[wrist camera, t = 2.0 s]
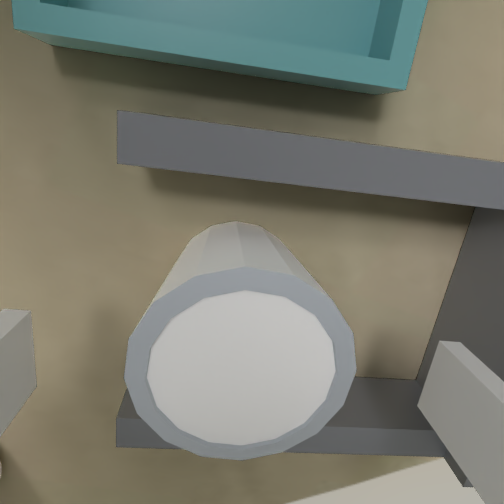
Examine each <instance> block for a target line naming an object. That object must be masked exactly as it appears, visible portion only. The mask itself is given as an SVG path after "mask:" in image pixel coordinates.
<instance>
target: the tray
mask: <svg viewBox="0 0 504 504" xmlns="http://www.w3.org/2000/svg"><path fill="white" fill-rule="evenodd" d="M427 2H428V0H12V12H13V25H14V29H16V30H18V31H20V32H23V33H25V34H27V35H29V36H32V37H34V38H36V39H38V40H41V41H43V42H45V43H48V44H50V45H54V46H61V47H67V48H74V49H80V50H87V51H93V52H100V53H106V54H113V55H119V56H126V57H132V58H139V59H145V60H152V61H158V62H165V63H171V64H178V65H184V66H191V67H197V68H204V69H210V70H217V71H223V72H230V73H236V74H243V75H249V76H256V77H262V78H269V79H276V80H282V81H289V82H295V83H302V84H308V85H315V86H321V87H328V88H334V89H341V90H347V91H354V92H360V93H367V94H373V95H379V94H385V93H391V92H397V91H403V90H406V86H407V82H408V78H409V74H410V70H411V66H412V62H413V58H414V54H415V50H416V46H417V42H418V38H419V34H420V30H421V26H422V22H423V18H424V14H425V10H426V6H427Z"/></svg>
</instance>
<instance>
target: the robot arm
mask: <svg viewBox="0 0 504 504" xmlns="http://www.w3.org/2000/svg"><path fill="white" fill-rule="evenodd" d="M36 387H37V382H36V369H35V356H34V343H33V330H32V317H31V311H29V310H16V309H3V310H1V311H0V437H1V435H2V434H3V433H4V431H5V430H6V428H7V427H8V426H9V424H10V423H11V422H12V420H13V419H14V417H15V416H16V415H17V413H18V412H19V410H20V409H21V408H22V406H23V405H24V403H25V402H26V401H27V399H28V398H29V397H30V395H31V394H32V392H33V391H34V390H35V388H36ZM417 406H418V408H419V409H420V410H421V412H422V413H423V415H424V416H425V418H426V419H427V421H428V422H429V423H430V425H431V426H432V428H433V429H434V431H435V432H436V433H437V435H438V436H439V438H440V439H441V441H442V442H443V443H444V445H445V446H446V448H447V449H448V451H449V452H450V454H451V455H452V456H453V458H454V459H455V461H456V462H457V464H458V465H459V466H460V468H461V469H462V471H463V472H464V474H465V475H466V477H467V478H468V479H469V481H470V482H471V484H472V485H473V487H474V488H475V489H476V491H477V492H478V494H479V495H480V497H481V498H482V499H483V501H484V502H485V504H504V381H503V380H501V379H500V378H499V377H498V376H497V375H496V374H495V373H494V372H493V371H491V370H490V369H489V368H488V367H487V366H486V365H485V364H484V363H483V362H482V361H480V360H479V359H478V358H477V357H476V356H475V355H474V354H473V353H472V352H471V351H469V350H468V349H467V348H466V347H465V346H464V345H463V344H462V343H461V342H452V341H439V343H438V346H437V349H436V352H435V355H434V358H433V361H432V364H431V367H430V370H429V372H428V375H427V378H426V381H425V384H424V387H423V390H422V393H421V396H420V399H419V402H418V405H417Z"/></svg>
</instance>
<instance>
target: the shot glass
mask: <svg viewBox="0 0 504 504" xmlns="http://www.w3.org/2000/svg"><path fill="white" fill-rule="evenodd" d="M356 371H357V370H356V358H355V346H354V335H353V332H352V330H351V329H350V327H349V326H348V324H347V322H346V321H345V319H344V318H343V316H342V314H341V313H340V311H339V310H338V308H337V306H336V305H335V303H334V302H333V300H332V299H331V298H330V296H329V295H328V294H327V293H326V292H325V291H324V290H323V288H322V287H321V286H320V285H319V284H318V283H317V281H316V280H315V279H314V278H313V277H312V276H311V275H310V273H309V272H308V271H307V270H306V269H305V268H304V267H303V265H302V264H301V263H300V262H299V261H298V260H297V259H296V257H295V256H294V255H293V254H292V253H291V252H290V251H289V249H288V248H287V247H286V246H285V245H284V244H283V242H282V241H281V240H280V239H279V238H278V237H276V236H275V235H273V234H272V233H270V232H269V231H267V230H266V229H264V228H263V227H261V226H260V225H254V224H249V223H244V222H239V221H232V222H227V223H222V224H217V225H212V226H210V227H208V228H207V229H205V230H204V231H202V232H201V233H199V234H198V235H196V236H194V237H193V238H191V240H190V241H189V243H188V244H187V246H186V247H185V249H184V250H183V252H182V253H181V255H180V256H179V258H178V259H177V261H176V263H175V264H174V266H173V267H172V269H171V271H170V272H169V274H168V276H167V277H166V279H165V281H164V282H163V284H162V285H161V287H160V289H159V290H158V292H157V294H156V295H155V297H154V298H153V300H152V302H151V303H150V305H149V307H148V308H147V310H146V311H145V313H144V315H143V316H142V318H141V320H140V321H139V323H138V324H137V326H136V328H135V329H134V331H133V333H132V334H131V336H130V338H129V341H128V349H127V357H126V364H125V372H124V380H125V383H126V386H127V388H128V391H129V394H130V396H131V399H132V402H133V404H134V407H135V410H136V412H137V414H138V415H139V416H140V417H141V418H142V419H143V420H144V421H145V422H146V423H147V424H148V425H149V426H150V427H151V428H152V429H153V430H154V431H155V432H156V433H157V434H158V435H159V436H160V437H161V438H162V439H163V440H164V441H166V442H169V443H171V444H173V445H175V446H178V447H180V448H182V449H185V450H187V451H189V452H192V453H194V454H196V455H198V456H201V457H210V458H221V459H231V460H241V461H242V460H247V459H252V458H257V457H262V456H267V455H272V454H277V453H282V452H284V451H286V450H287V449H289V448H291V447H293V446H295V445H297V444H299V443H300V442H302V441H304V440H306V439H308V438H310V437H312V436H314V435H315V434H317V433H318V432H319V431H320V430H321V429H322V428H323V427H324V426H325V425H326V423H327V422H328V421H329V420H330V419H331V418H332V417H333V416H334V415H335V414H336V413H337V412H338V411H339V409H340V408H341V407H342V406H343V405H344V402H345V400H346V397H347V394H348V392H349V389H350V387H351V384H352V381H353V379H354V376H355V373H356Z"/></svg>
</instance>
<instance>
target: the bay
mask: <svg viewBox="0 0 504 504" xmlns="http://www.w3.org/2000/svg"><path fill="white" fill-rule="evenodd" d="M117 164H125V165H133V166H141V167H150V168H158V169H166V170H175V171H183V172H192V173H200V174H208V175H217V176H225V177H233V178H242V179H250V180H259V181H267V182H275V183H284V184H292V185H300V186H309V187H317V188H326V189H334V190H342V191H351V192H359V193H367V194H376V195H384V196H393V197H401V198H409V199H418V200H426V201H434V202H443V203H451V204H460V205H468V206H476V207H475V210H474V213H473V216H472V219H471V222H470V224H469V227H468V230H467V233H466V236H465V239H464V242H463V245H462V248H461V251H460V254H459V256H458V259H457V262H456V265H455V268H454V271H453V274H452V277H451V280H450V283H449V286H448V288H447V291H446V294H445V297H444V300H443V303H442V306H441V309H440V312H439V315H438V318H437V320H436V323H435V326H434V329H433V332H432V335H431V338H430V341H429V344H428V347H427V350H426V352H425V355H424V358H423V361H422V364H421V367H420V370H419V373H418V376H417V379H416V380H402V379H384V378H367V377H354V379H353V381H352V384H351V387H350V389H349V392H348V394H347V397H346V400H345V402H344V405H343V406H342V407H341V408H340V409H339V411H338V412H337V413H336V414H335V415H334V416H333V417H332V418H331V419H330V420H329V421H328V422H327V423H326V425H325V426H324V427H323V428H322V429H321V430H320V431H319V432H318V433H317V434H315V435H314V436H312V437H310V438H308V439H306V440H304V441H302V442H300V443H299V444H297V445H295V446H293V447H291V448H289V449H287V450H286V451H284V452H294V453H327V454H361V455H394V456H427V457H444V458H445V460H446V461H447V463H448V464H449V466H450V468H451V469H452V471H453V472H454V474H455V475H456V477H457V478H458V480H459V481H460V483H461V484H462V486H463V487H473V485H472V484H471V482H470V481H469V479H468V478H467V477H466V475H465V474H464V472H463V471H462V469H461V468H460V466H459V465H458V464H457V462H456V461H455V459H454V458H453V456H452V455H451V454H450V452H449V451H448V449H447V448H446V446H445V445H444V443H443V442H442V441H441V439H440V438H439V436H438V435H437V433H436V432H435V431H434V429H433V428H432V426H431V425H430V423H429V422H428V421H427V419H426V418H425V416H424V415H423V413H422V412H421V410H420V409H419V408H418V406H417V405H418V402H419V399H420V396H421V393H422V390H423V387H424V384H425V381H426V378H427V375H428V372H429V370H430V367H431V364H432V361H433V358H434V355H435V352H436V349H437V346H438V343H439V341H452V342H461V343H462V344H463V345H464V346H465V347H466V348H467V349H468V350H469V351H471V352H472V353H473V354H474V355H475V356H476V357H477V358H478V359H479V360H480V361H482V362H483V363H484V364H485V365H486V366H487V367H488V368H489V369H490V370H491V371H493V372H494V373H495V374H496V375H497V376H498V377H499V378H500V379H501V380H503V381H504V162H500V161H492V160H485V159H478V158H470V157H463V156H456V155H448V154H441V153H434V152H427V151H419V150H412V149H405V148H397V147H390V146H383V145H375V144H368V143H361V142H353V141H346V140H339V139H331V138H324V137H317V136H309V135H302V134H295V133H287V132H280V131H273V130H265V129H258V128H251V127H243V126H236V125H229V124H221V123H214V122H207V121H199V120H192V119H185V118H177V117H170V116H163V115H155V114H148V113H141V112H131V111H121V110H117ZM116 447H127V448H161V449H182V448H180V447H178V446H175V445H173V444H171V443H169V442H166V441H164V440H163V439H162V438H161V437H160V436H159V435H158V434H157V433H156V432H155V431H154V430H153V429H152V428H151V427H150V426H149V425H148V424H147V423H146V422H145V421H144V420H143V419H142V418H141V417H140V416H139V415H138V414H137V412H136V410H135V407H134V404H133V402H132V399H131V396H130V394H129V391H128V388H127V390H126V392H125V395H124V398H123V401H122V404H121V406H120V409H119V412H118V415H117V418H116Z"/></svg>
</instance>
